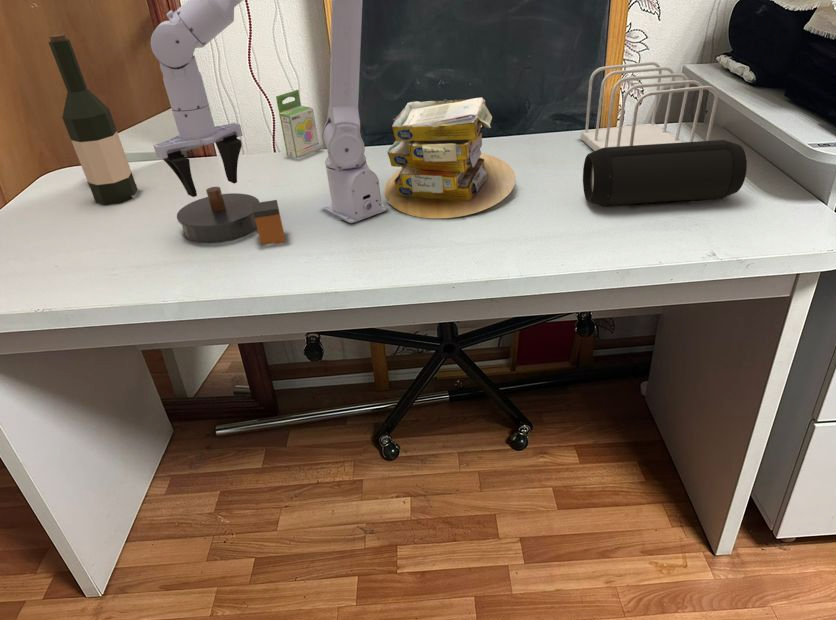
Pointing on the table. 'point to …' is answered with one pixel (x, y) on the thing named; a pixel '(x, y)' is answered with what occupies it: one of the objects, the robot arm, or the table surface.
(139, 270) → the table surface
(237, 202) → the lid
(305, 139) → the ink box
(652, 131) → the file sorter
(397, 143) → the stacked yellow boxes
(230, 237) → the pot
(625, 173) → the portable speaker
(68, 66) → the wine bottle
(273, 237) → the spice jar
